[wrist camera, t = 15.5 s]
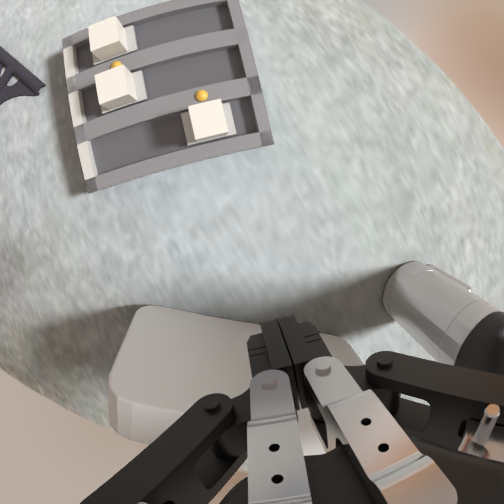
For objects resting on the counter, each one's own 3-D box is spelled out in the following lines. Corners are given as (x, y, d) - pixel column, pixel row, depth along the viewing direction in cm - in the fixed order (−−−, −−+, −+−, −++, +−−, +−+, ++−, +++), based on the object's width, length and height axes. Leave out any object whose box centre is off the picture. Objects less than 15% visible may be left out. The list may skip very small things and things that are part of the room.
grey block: (135, 349, 40) (104, 448, 23) (140, 301, 38) (100, 394, 21) (326, 376, 45) (370, 463, 28) (344, 335, 43) (402, 418, 26)
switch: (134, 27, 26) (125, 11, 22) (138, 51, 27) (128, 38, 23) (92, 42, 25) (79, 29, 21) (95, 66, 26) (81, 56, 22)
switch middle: (142, 71, 27) (133, 60, 23) (148, 100, 29) (139, 91, 24) (99, 86, 27) (85, 78, 23) (104, 114, 28) (89, 109, 24)
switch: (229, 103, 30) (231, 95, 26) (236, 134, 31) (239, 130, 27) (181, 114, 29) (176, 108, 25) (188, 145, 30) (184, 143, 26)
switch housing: (232, 4, 29) (235, -13, 25) (266, 145, 35) (274, 143, 30) (75, 49, 28) (61, 38, 24) (101, 189, 34) (87, 193, 29)
